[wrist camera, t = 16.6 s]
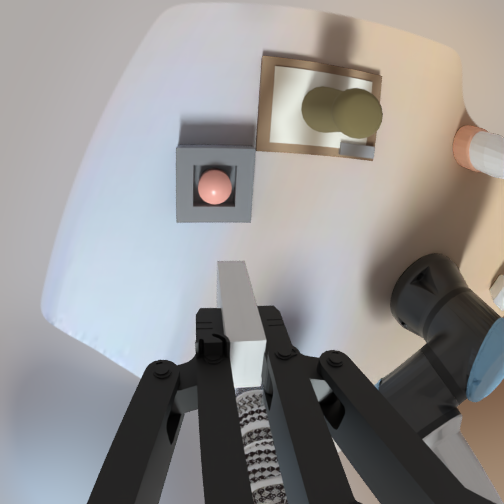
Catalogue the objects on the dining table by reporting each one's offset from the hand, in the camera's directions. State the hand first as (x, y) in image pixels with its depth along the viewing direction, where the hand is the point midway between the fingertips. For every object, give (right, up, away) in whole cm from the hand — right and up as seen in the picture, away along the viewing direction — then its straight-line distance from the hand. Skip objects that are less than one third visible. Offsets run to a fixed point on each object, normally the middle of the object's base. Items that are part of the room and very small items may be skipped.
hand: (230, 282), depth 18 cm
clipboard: (+10, +20, +19) cm, 29 cm away
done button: (-3, +10, +20) cm, 23 cm away
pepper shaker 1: (+10, +19, +19) cm, 29 cm away
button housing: (-4, +11, +22) cm, 24 cm away
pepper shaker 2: (+37, +19, +24) cm, 48 cm away
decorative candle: (+2, -28, +42) cm, 50 cm away
